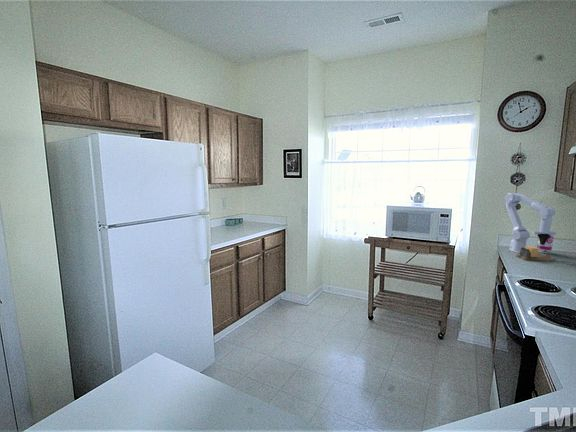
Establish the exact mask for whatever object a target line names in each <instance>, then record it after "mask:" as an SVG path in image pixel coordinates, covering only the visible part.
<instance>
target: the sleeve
mask: <svg viewBox="0 0 576 432" xmlns="http://www.w3.org/2000/svg"><path fill="white" fill-rule="evenodd" d="M525 248H526V249H529V251H530V254H529V256H530V257H538V255H539V253H538V252H539V248H537V246H529V245H526V247H525Z"/></svg>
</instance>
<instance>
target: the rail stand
mask: <svg viewBox="0 0 576 432" xmlns="http://www.w3.org/2000/svg"><path fill="white" fill-rule="evenodd" d="M529 254H530V251H529V249H526V247H525V248H521V249H520V253H515V257H517V258H519V259H521V260H524V261H527V262H529V261H530V262H556V258H553V257H552V251H551V252H538V257H530V256H529Z"/></svg>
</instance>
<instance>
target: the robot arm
mask: <svg viewBox="0 0 576 432" xmlns="http://www.w3.org/2000/svg"><path fill="white" fill-rule="evenodd" d="M504 200H505V208H506V211H507V213H508V216H509V219H510V221H511V223H512V227H513V229H512V230H511V232H512V238H513V239H511V240H510V245H509V248H508V250H509V251H511V252H514V253H515V254H520V249H521V248H526V246H527V241H528V239H530V236H531V234H532V235H537V237H538V239H539V240H540V244H541V245H544V244H545V242H546V241H547V239H548V238H549V237H550V235H554V236H556V235H557V232H556V231H551V227H552V220H553V216H555V215H556V209H554V208H553V207H549V205H545V204H543V203H542V202H541V201H534V200H533V199H531V198H529V197H527V196H526V195H524V194H522V193H520V192H516V193H515V192H512V193H511V192H508V193H507V194H506V196H505V197H504ZM520 202H522V203H524V204H526V205H528V206H530V207H531V209H532V210H534V211H536V212H538V213H539V214H540V218H541V219H540V223H539V229H538V230H533V231H532V232H531V234H530V232H529V231H528V230H527V228H526V227H524V226H523V224H522V221H521V219H520V216H519V215H520V214H519V212H518V210H517V208H516V206H517V205H518V204H519V203H520ZM544 233H545V234H544Z"/></svg>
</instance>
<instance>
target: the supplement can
mask: <svg viewBox="0 0 576 432" xmlns="http://www.w3.org/2000/svg"><path fill="white" fill-rule="evenodd" d="M544 234H545V233H544ZM554 238H555V235H550V237H549V238H548V239H547V241H546V242H545V244H544V245H541V244H540V240H539V238H538V241H537V246H536V248H539V252H551V253H552V249H553V243H554Z"/></svg>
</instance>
